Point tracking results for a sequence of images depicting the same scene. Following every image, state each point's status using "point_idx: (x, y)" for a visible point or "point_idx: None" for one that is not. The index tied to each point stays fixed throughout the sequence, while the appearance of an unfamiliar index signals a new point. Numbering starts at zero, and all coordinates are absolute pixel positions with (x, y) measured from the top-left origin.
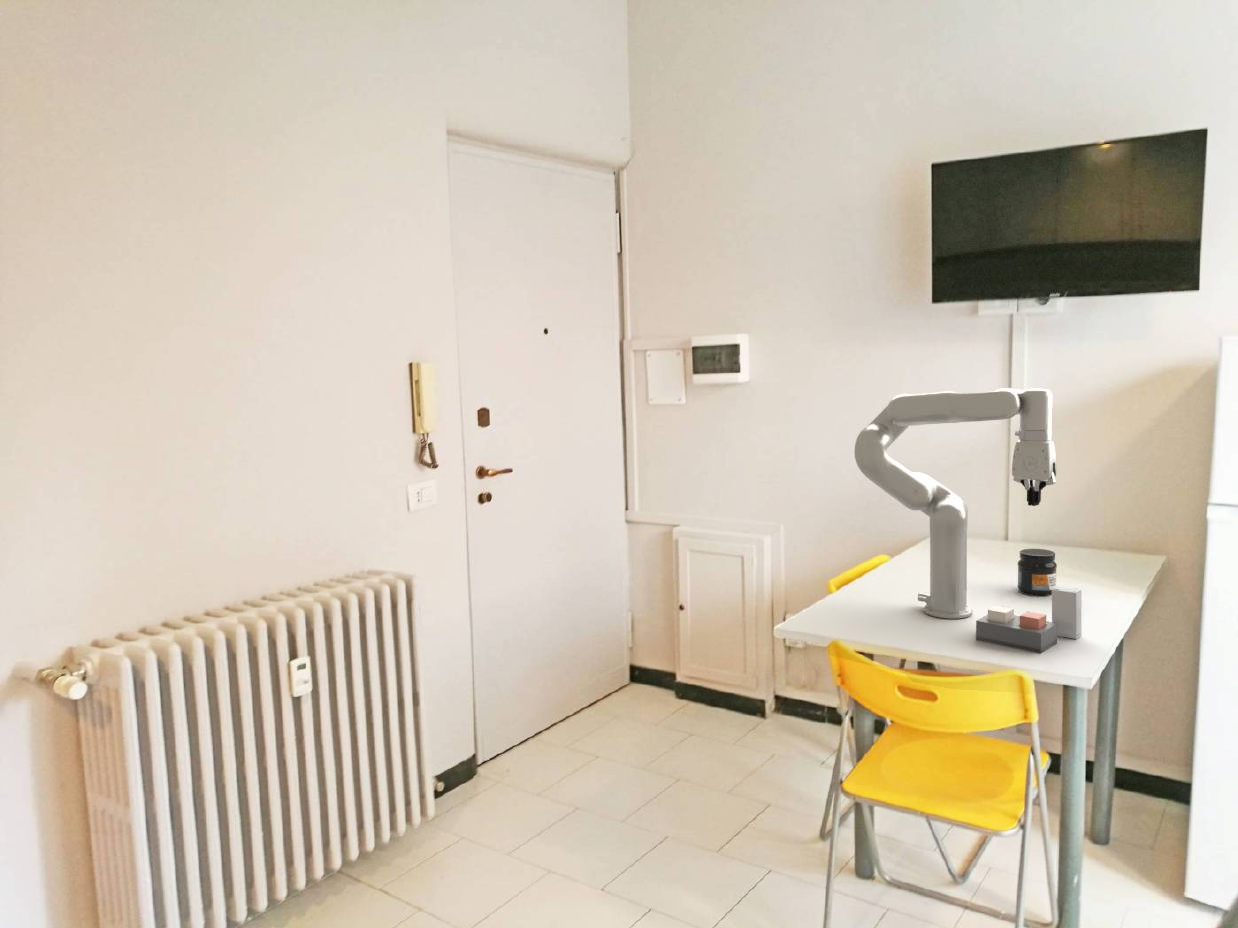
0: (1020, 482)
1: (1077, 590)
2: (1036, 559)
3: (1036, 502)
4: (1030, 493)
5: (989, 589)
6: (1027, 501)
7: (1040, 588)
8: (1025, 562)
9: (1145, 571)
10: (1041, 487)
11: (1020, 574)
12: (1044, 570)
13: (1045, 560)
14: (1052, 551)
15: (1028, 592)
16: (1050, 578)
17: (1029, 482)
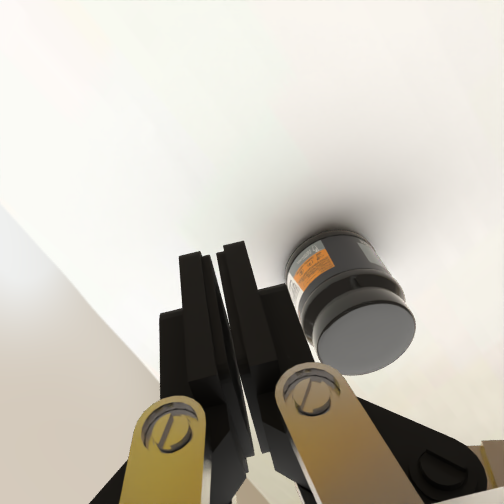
0: (478, 452)
1: None
2: (341, 303)
3: (182, 308)
4: (240, 342)
5: (425, 192)
6: (283, 286)
7: (303, 254)
8: (371, 285)
9: (264, 488)
10: (111, 489)
11: (370, 257)
12: (311, 293)
13: (321, 318)
14: (339, 372)
15: (326, 232)
16: (296, 292)
17: (317, 500)
